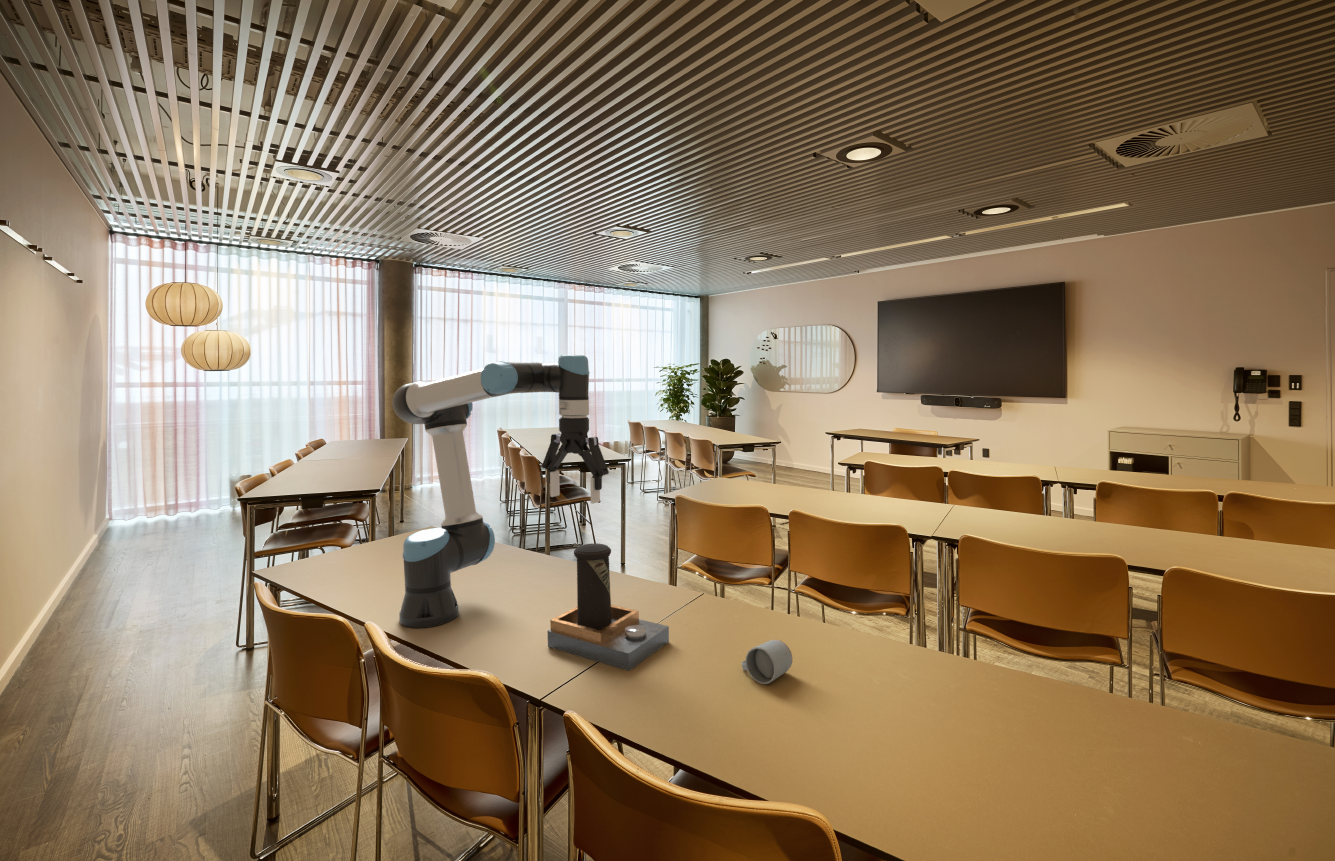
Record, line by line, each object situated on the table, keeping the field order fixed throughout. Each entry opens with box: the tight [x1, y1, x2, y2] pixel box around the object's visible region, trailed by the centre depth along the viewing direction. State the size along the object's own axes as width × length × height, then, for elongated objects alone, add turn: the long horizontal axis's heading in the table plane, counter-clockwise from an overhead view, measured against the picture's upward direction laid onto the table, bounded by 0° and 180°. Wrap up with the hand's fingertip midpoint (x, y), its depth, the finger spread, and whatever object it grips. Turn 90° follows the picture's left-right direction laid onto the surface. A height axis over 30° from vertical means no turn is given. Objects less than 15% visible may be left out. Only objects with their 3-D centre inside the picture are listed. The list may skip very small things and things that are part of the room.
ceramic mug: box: [741, 639, 793, 685], centre depth 132 cm, size 11×8×8 cm
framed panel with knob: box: [546, 604, 670, 672], centre depth 148 cm, size 24×17×6 cm
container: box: [573, 543, 612, 630], centre depth 149 cm, size 9×9×20 cm
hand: (574, 499), depth 155 cm, fingers open, 13 cm apart
